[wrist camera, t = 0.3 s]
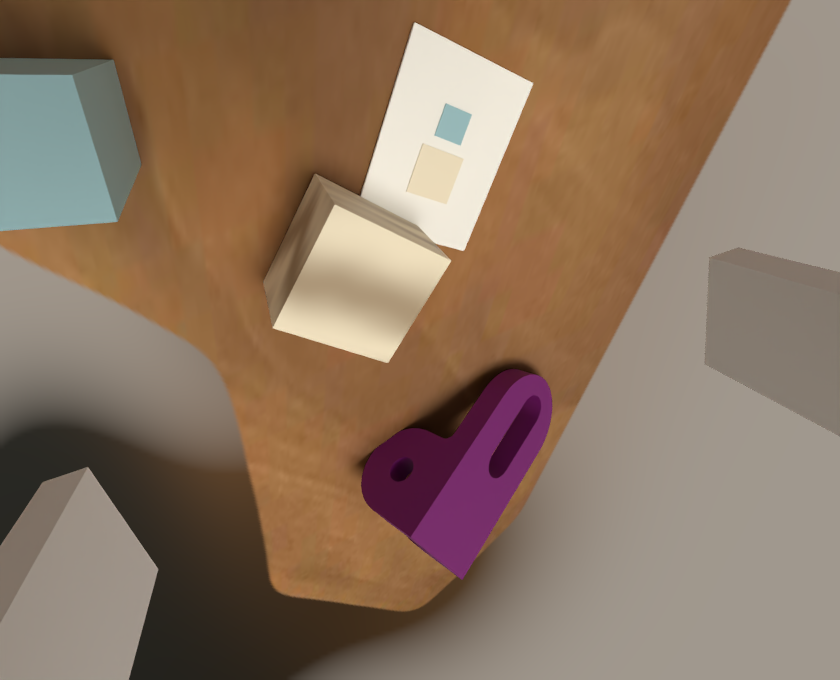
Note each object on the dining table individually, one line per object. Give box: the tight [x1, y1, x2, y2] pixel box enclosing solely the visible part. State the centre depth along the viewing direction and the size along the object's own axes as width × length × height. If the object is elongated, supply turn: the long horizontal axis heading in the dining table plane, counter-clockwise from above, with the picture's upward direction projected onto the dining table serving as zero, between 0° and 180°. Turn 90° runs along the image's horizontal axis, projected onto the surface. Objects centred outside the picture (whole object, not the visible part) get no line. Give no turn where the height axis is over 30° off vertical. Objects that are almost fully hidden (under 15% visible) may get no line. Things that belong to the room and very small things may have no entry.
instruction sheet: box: [360, 22, 533, 251], centre depth 32 cm, size 12×9×1 cm
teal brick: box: [0, 58, 141, 231], centre depth 21 cm, size 5×5×10 cm
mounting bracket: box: [361, 369, 552, 579], centre depth 46 cm, size 10×9×19 cm
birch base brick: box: [263, 174, 451, 363], centre depth 31 cm, size 8×8×6 cm
